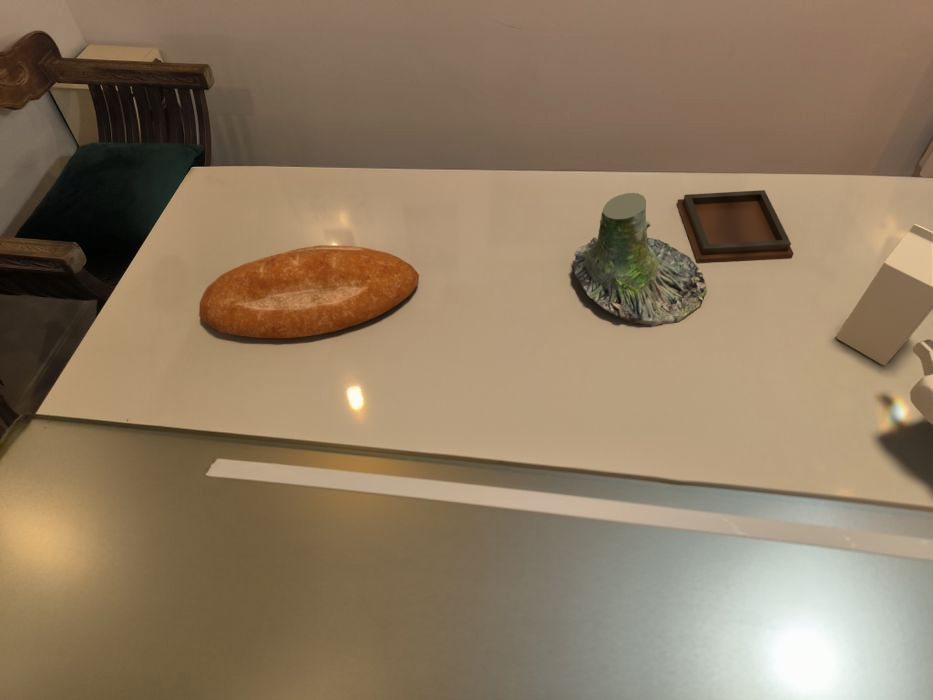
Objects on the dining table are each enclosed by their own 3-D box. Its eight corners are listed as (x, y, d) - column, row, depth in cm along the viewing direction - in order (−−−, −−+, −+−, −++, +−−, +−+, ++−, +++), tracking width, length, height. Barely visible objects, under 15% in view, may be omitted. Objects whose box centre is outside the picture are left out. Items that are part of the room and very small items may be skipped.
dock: (762, 198, 107) (767, 187, 105) (791, 258, 97) (797, 246, 96) (676, 203, 107) (679, 192, 105) (697, 263, 98) (700, 251, 96)
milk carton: (883, 367, 84) (963, 267, 69) (834, 338, 87) (900, 238, 72) (908, 339, 86) (990, 237, 71) (859, 312, 90) (928, 210, 75)
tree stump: (697, 345, 89) (692, 255, 76) (566, 333, 98) (542, 251, 85) (715, 256, 98) (714, 163, 85) (594, 253, 107) (576, 169, 94)
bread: (211, 276, 103) (189, 237, 96) (416, 249, 104) (409, 208, 97) (195, 357, 93) (169, 319, 86) (425, 326, 94) (417, 286, 87)
